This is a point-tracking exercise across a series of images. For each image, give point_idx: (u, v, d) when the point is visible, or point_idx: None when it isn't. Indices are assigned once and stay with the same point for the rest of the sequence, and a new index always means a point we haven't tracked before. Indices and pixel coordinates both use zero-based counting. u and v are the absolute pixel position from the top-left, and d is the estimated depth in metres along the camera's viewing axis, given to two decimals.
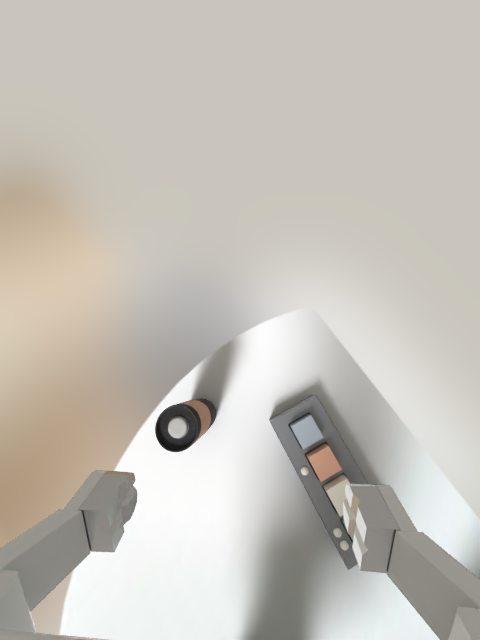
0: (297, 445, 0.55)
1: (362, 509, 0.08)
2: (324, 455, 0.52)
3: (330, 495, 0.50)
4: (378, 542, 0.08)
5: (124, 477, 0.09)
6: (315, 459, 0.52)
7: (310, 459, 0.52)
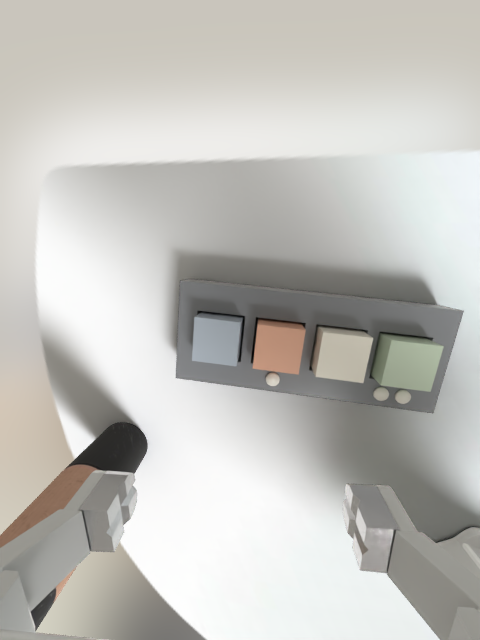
0: None
1: (362, 509, 0.08)
2: (266, 341, 0.27)
3: (326, 375, 0.27)
4: (378, 542, 0.08)
5: (124, 477, 0.09)
6: (262, 359, 0.27)
7: (257, 366, 0.27)
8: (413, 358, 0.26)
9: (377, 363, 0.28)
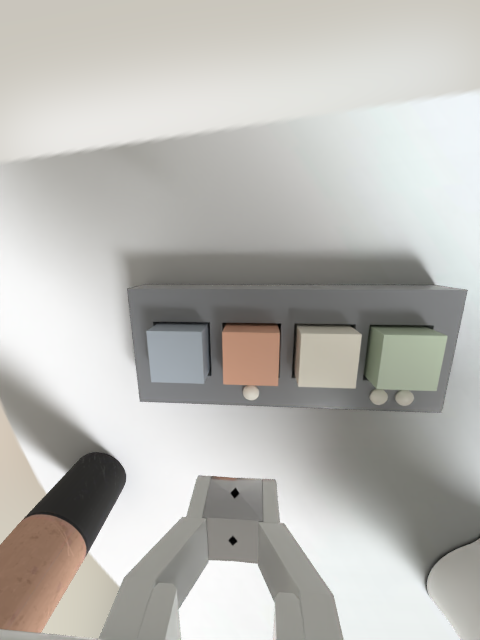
0: None
1: (237, 502, 0.08)
2: (235, 351, 0.22)
3: (310, 383, 0.22)
4: (245, 533, 0.08)
5: (233, 483, 0.09)
6: (233, 372, 0.23)
7: (228, 381, 0.23)
8: (412, 354, 0.21)
9: (370, 362, 0.23)
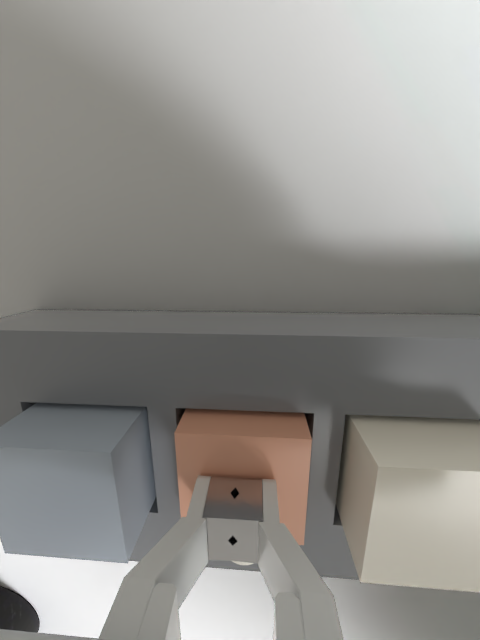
0: None
1: (237, 502, 0.08)
2: (207, 473, 0.10)
3: (393, 577, 0.09)
4: (245, 533, 0.08)
5: (233, 483, 0.09)
6: None
7: None
8: None
9: None
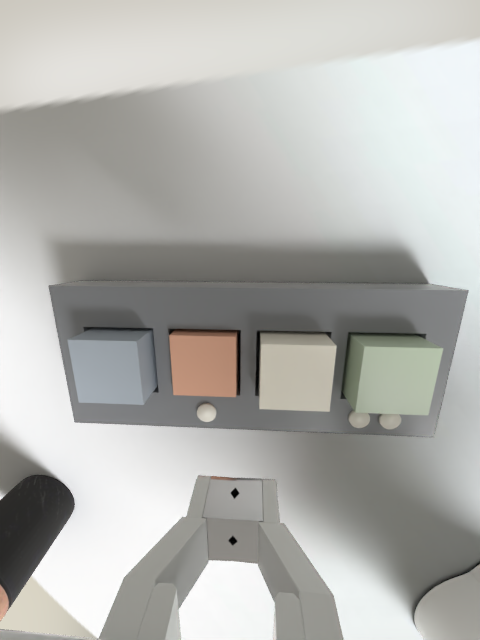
0: None
1: (237, 502, 0.08)
2: (185, 357, 0.19)
3: (274, 405, 0.18)
4: (245, 533, 0.08)
5: (233, 483, 0.09)
6: (184, 381, 0.20)
7: (179, 391, 0.20)
8: (399, 370, 0.17)
9: (349, 378, 0.19)
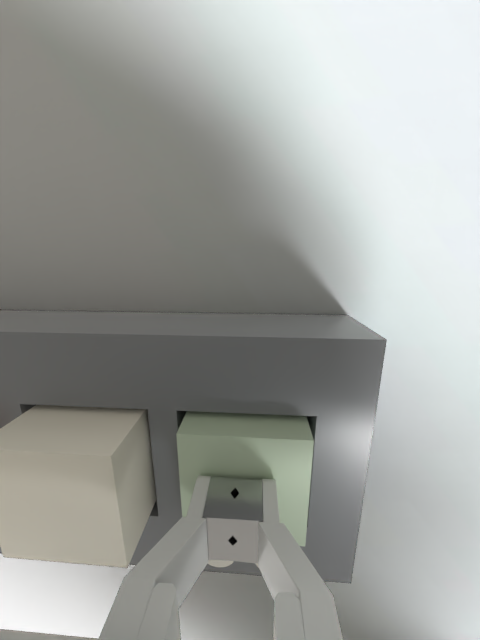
0: None
1: (237, 502, 0.08)
2: None
3: (27, 552, 0.10)
4: (245, 533, 0.08)
5: (233, 483, 0.09)
6: None
7: None
8: (243, 474, 0.10)
9: None
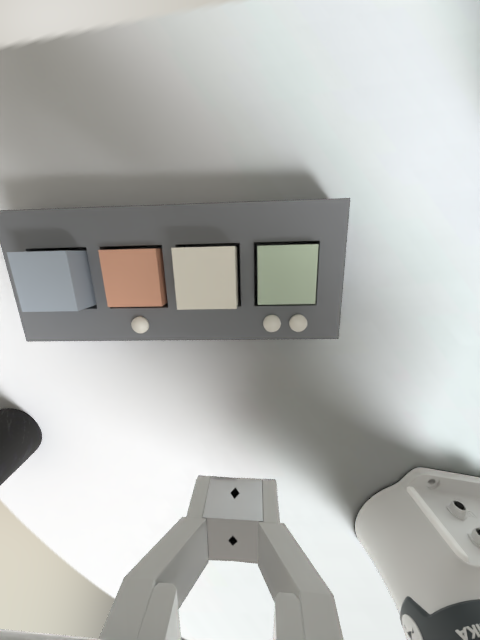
0: (88, 312, 0.24)
1: (237, 502, 0.08)
2: (114, 270, 0.22)
3: (189, 305, 0.21)
4: (245, 533, 0.08)
5: (233, 483, 0.09)
6: (116, 293, 0.22)
7: (112, 303, 0.23)
8: (287, 265, 0.21)
9: None
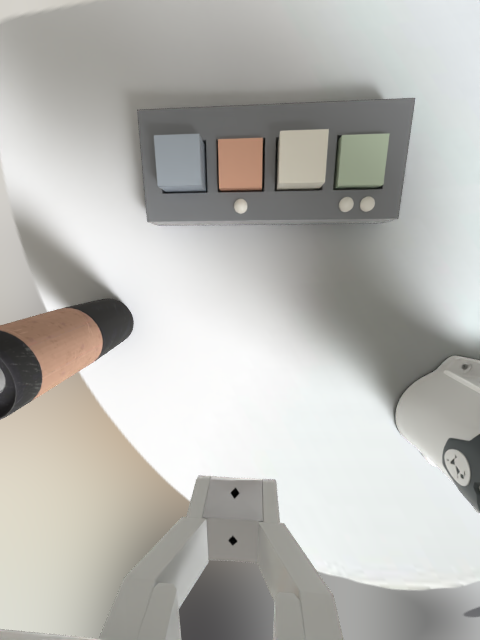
0: (200, 195, 0.30)
1: (237, 502, 0.08)
2: (228, 156, 0.29)
3: (288, 179, 0.27)
4: (245, 533, 0.08)
5: (233, 483, 0.09)
6: (227, 176, 0.29)
7: (223, 185, 0.29)
8: (364, 151, 0.28)
9: (334, 172, 0.30)
